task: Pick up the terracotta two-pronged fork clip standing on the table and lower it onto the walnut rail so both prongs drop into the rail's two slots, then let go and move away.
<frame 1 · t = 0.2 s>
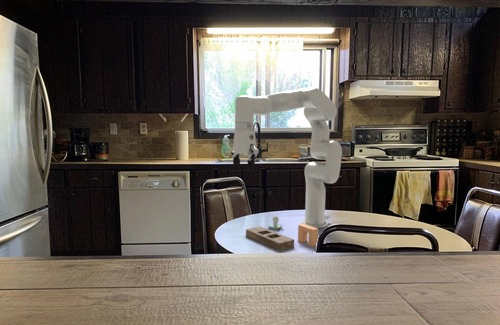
hand: (243, 168, 137), 31 cm above the table, tool pointing down, fingers open, 9 cm apart
rail: (268, 241, 141), on the table
pacifier: (275, 228, 160), on the table
clip: (307, 243, 139), on the table
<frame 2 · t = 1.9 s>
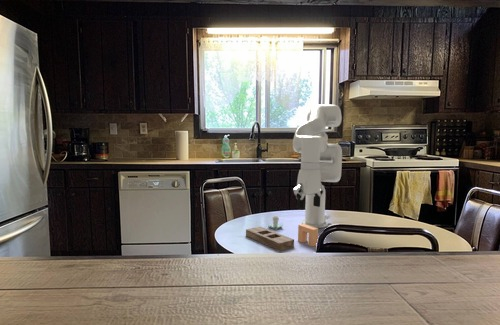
hand: (308, 207, 137), 15 cm above the table, tool pointing down, fingers open, 9 cm apart
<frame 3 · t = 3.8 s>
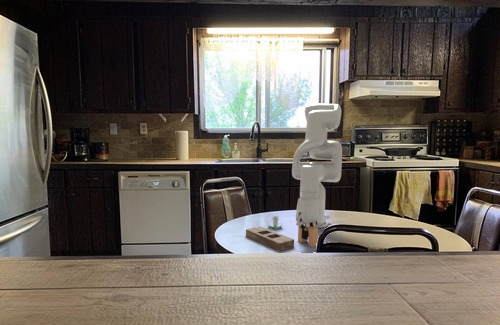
hand: (307, 237, 139), 2 cm above the table, tool pointing down, fingers closed on clip, 3 cm apart
clip: (307, 243, 139), on the table, touching gripper
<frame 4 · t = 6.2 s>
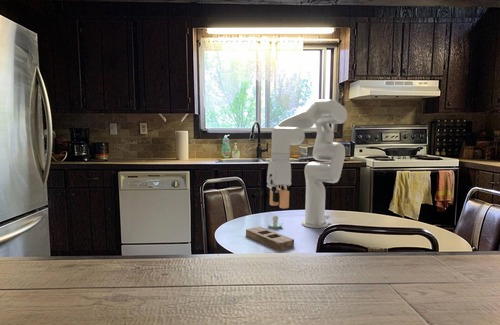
hand: (279, 200, 138), 18 cm above the table, tool pointing down, fingers closed on clip, 3 cm apart
clip: (279, 206, 139), point 15 cm above the table, touching gripper
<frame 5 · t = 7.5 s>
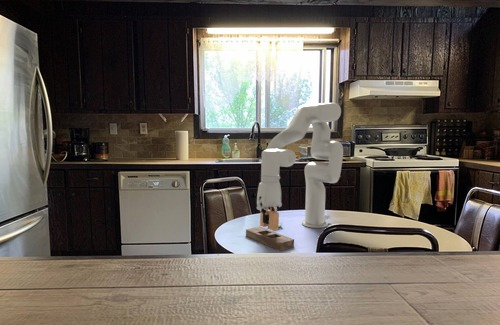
hand: (269, 222, 140), 8 cm above the table, tool pointing down, fingers closed on clip, 3 cm apart
clip: (269, 227, 140), point 6 cm above the table, touching gripper
when the fingers open (4 cm above the table, at t = 8.5 s): clip drops 2 cm, resting in rail.
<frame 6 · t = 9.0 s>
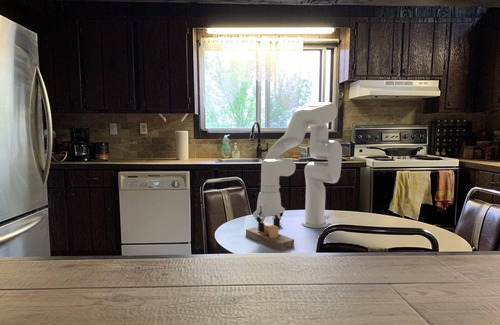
hand: (269, 229, 140), 5 cm above the table, tool pointing down, fingers open, 8 cm apart
clip: (268, 241, 141), resting in rail
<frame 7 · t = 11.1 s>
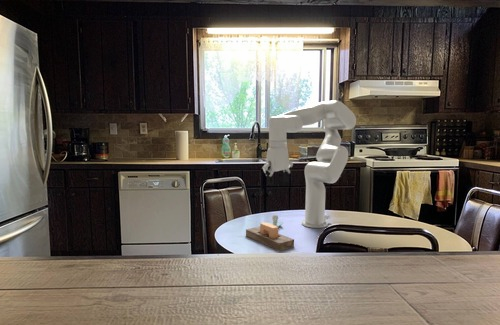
hand: (278, 183, 147), 23 cm above the table, tool pointing down, fingers open, 9 cm apart
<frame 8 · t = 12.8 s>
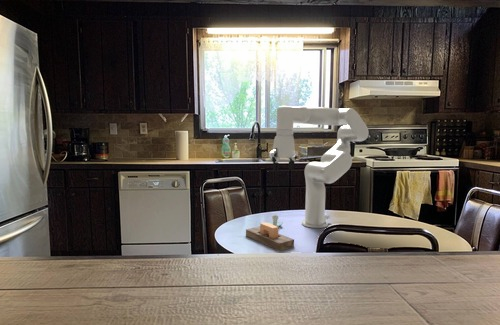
hand: (283, 170, 153), 28 cm above the table, tool pointing down, fingers open, 9 cm apart
at the end: clip 0.1 cm off-centre on the rail, point 0.0 cm above the rail's base; clip tilted 0°; the gripper is holding nothing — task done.
